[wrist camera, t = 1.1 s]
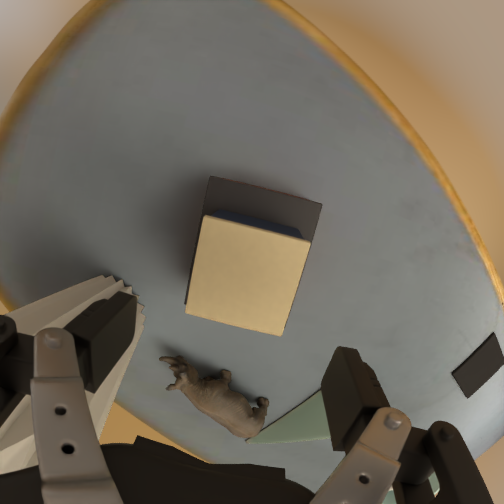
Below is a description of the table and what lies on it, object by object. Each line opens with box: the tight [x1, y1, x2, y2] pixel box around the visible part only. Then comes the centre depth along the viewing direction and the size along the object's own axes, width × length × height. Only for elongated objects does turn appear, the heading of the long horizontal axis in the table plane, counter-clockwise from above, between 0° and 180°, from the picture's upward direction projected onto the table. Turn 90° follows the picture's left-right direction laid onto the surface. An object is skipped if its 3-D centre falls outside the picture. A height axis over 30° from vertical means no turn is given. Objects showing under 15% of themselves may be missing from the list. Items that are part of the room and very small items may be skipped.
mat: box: [452, 332, 504, 398], centre depth 30 cm, size 8×8×1 cm
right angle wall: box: [382, 472, 439, 504], centre depth 33 cm, size 12×12×8 cm
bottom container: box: [184, 176, 322, 328], centre depth 25 cm, size 10×8×5 cm
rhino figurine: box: [159, 356, 269, 438], centre depth 29 cm, size 4×14×6 cm, turn 48°
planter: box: [246, 390, 331, 444], centre depth 33 cm, size 8×6×18 cm
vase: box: [0, 275, 146, 474], centre depth 17 cm, size 13×13×26 cm
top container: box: [185, 209, 311, 336], centre depth 20 cm, size 6×6×5 cm
